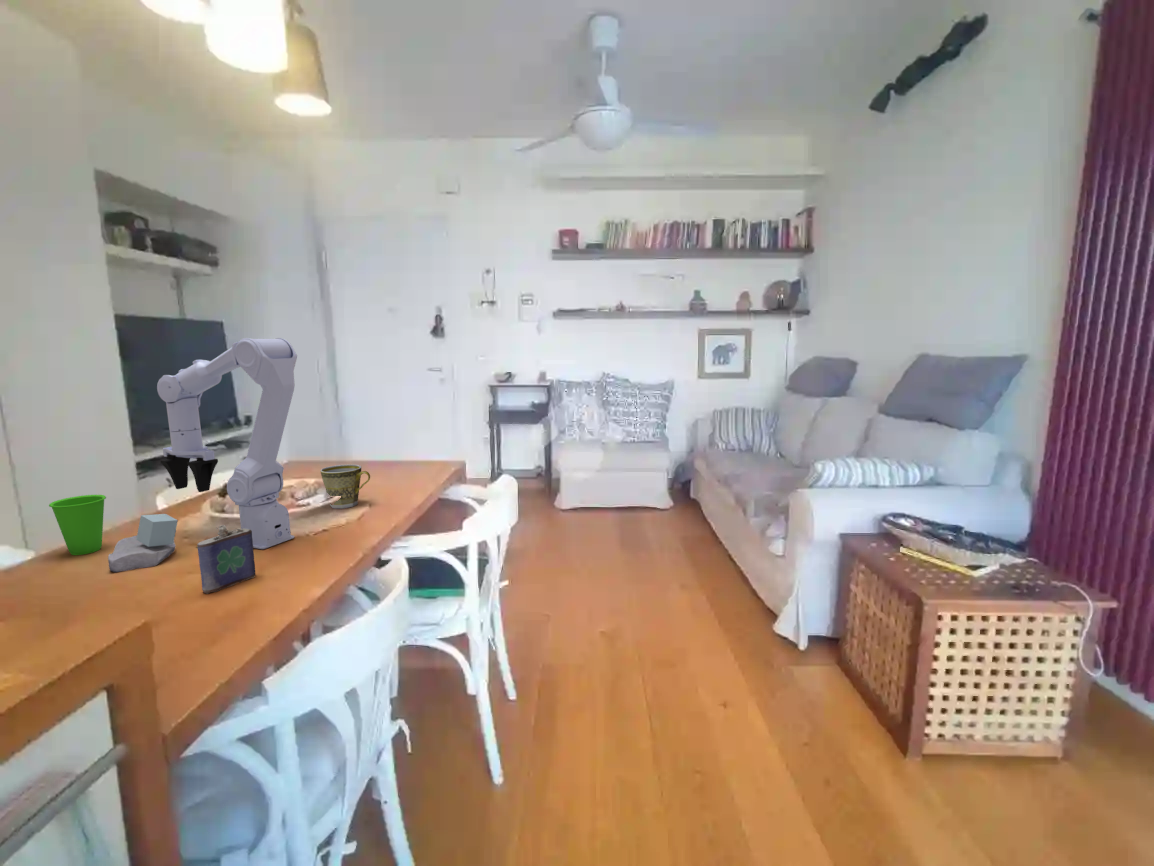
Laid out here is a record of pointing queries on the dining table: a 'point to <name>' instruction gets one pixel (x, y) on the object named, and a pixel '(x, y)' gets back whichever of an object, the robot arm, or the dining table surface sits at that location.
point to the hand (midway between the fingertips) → (192, 489)
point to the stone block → (137, 555)
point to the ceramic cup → (343, 483)
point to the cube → (156, 530)
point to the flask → (226, 559)
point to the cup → (80, 522)
